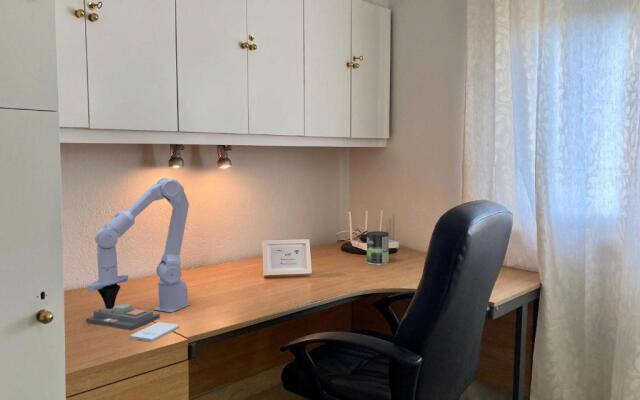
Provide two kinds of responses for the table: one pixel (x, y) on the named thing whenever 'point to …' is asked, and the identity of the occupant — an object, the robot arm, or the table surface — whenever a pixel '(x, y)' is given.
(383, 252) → the coffee can
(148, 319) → the grey compartment tray
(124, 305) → the key
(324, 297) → the table surface
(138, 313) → the key
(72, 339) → the table surface
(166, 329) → the external hard drive
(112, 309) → the key
